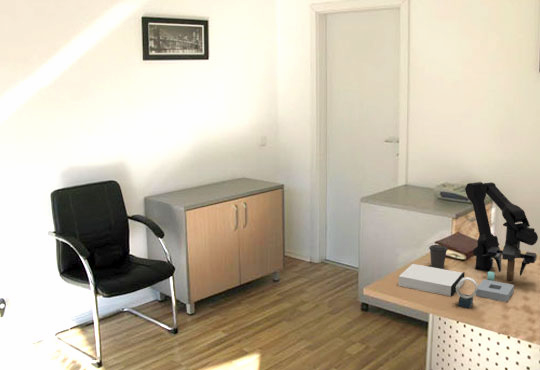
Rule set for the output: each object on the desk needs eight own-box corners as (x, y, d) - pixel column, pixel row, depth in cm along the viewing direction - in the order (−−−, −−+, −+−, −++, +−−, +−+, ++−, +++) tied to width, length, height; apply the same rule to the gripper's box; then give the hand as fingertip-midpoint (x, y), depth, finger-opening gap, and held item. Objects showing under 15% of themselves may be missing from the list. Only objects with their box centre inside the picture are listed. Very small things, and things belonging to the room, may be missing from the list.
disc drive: (452, 298, 243) (453, 286, 242) (398, 286, 254) (398, 275, 253) (464, 283, 257) (464, 272, 256) (412, 273, 269) (412, 263, 268)
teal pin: (486, 284, 255) (486, 273, 254) (487, 282, 258) (488, 271, 256) (493, 285, 254) (493, 274, 253) (494, 283, 256) (495, 272, 255)
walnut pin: (505, 281, 259) (507, 260, 257) (506, 278, 261) (508, 258, 259) (512, 282, 257) (514, 262, 255) (513, 280, 259) (515, 260, 257)
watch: (456, 300, 239) (457, 273, 237) (477, 304, 236) (479, 277, 233) (453, 305, 234) (454, 278, 232) (474, 309, 231) (476, 282, 228)
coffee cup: (432, 262, 281) (433, 242, 279) (449, 266, 276) (450, 245, 274) (425, 268, 274) (426, 246, 272) (442, 271, 270) (444, 250, 268)
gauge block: (475, 295, 244) (475, 288, 243) (483, 286, 253) (483, 279, 253) (507, 302, 237) (507, 295, 237) (513, 291, 247) (514, 285, 246)
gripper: (485, 239, 253) (482, 275, 257) (533, 247, 243) (530, 284, 247) (491, 233, 262) (489, 267, 266) (538, 240, 253) (535, 275, 256)
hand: (510, 273), depth 258 cm, fingers open, 8 cm apart
